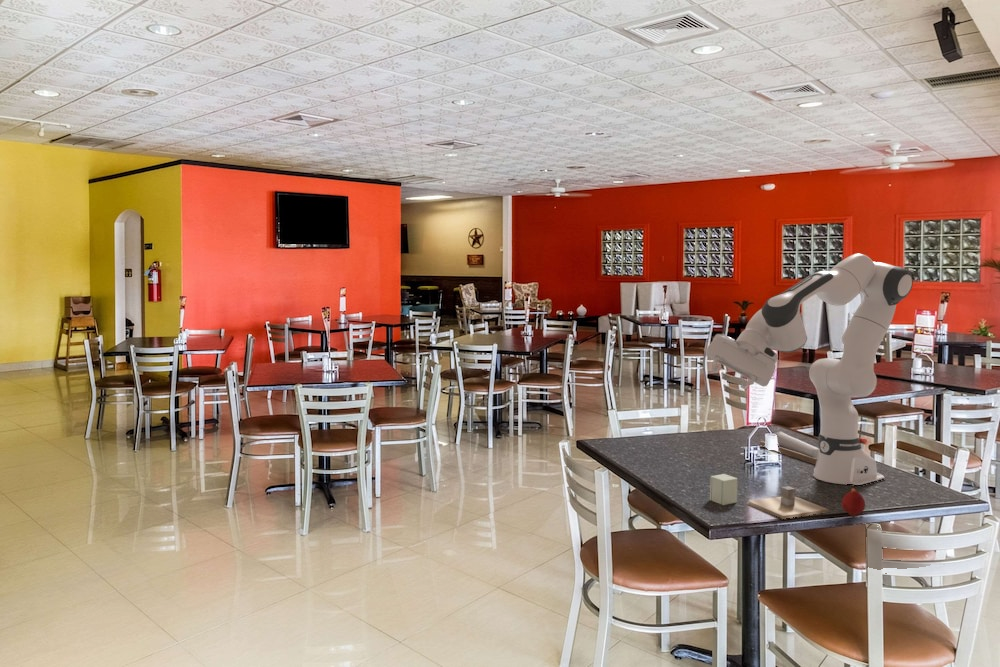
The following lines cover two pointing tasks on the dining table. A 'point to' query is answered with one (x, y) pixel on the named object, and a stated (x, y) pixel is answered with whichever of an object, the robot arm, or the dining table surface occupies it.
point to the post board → (785, 510)
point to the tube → (796, 445)
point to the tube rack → (795, 454)
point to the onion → (853, 503)
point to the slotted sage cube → (723, 489)
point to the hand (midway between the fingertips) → (728, 379)
